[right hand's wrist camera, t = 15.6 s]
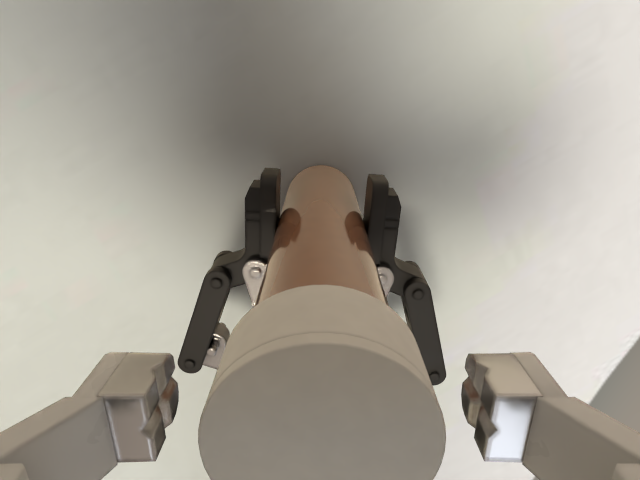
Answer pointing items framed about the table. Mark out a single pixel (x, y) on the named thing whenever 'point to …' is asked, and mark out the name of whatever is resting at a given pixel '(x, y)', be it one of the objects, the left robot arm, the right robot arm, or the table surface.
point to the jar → (321, 238)
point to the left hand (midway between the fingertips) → (323, 176)
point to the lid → (321, 394)
